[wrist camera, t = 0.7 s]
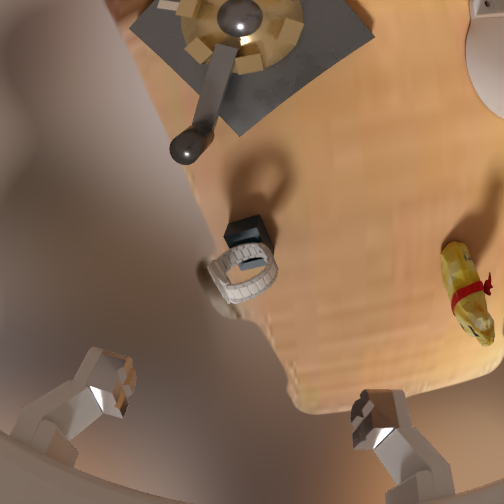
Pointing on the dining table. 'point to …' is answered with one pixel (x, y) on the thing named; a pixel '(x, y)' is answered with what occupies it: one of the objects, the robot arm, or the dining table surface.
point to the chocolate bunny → (467, 292)
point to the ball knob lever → (230, 54)
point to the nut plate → (272, 78)
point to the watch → (245, 260)
